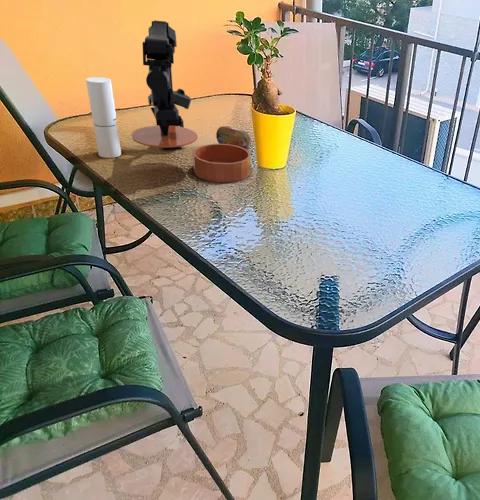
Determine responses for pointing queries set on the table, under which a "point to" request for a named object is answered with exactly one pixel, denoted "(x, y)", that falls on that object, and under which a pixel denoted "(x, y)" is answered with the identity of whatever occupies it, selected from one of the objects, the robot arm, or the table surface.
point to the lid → (164, 136)
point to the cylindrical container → (104, 116)
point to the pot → (221, 162)
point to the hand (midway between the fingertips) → (164, 133)
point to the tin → (233, 137)
